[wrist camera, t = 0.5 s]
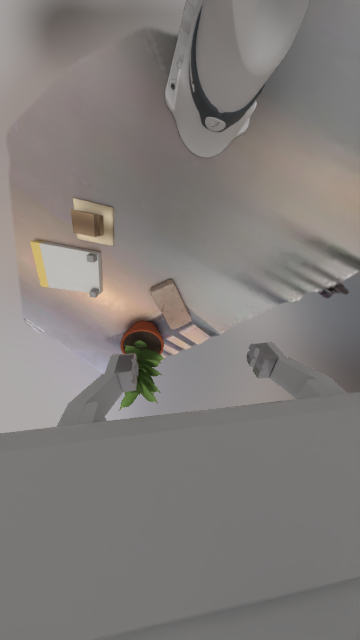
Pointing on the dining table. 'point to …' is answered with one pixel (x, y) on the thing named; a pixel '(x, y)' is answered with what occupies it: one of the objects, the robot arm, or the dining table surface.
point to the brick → (170, 304)
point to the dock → (68, 267)
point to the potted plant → (143, 358)
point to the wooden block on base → (93, 222)
